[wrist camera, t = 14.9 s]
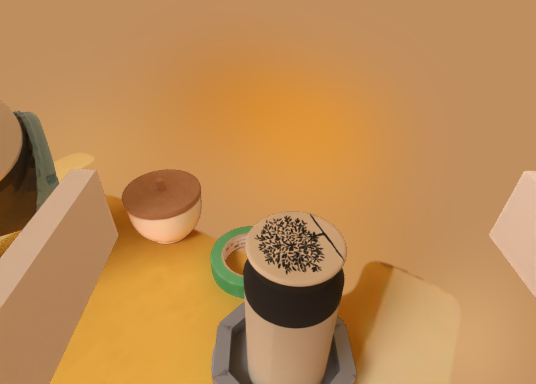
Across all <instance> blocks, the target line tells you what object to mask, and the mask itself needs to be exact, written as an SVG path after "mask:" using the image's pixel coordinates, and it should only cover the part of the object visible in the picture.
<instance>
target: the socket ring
mask: <svg viewBox="0 0 536 384" xmlns="http://www.w3.org/2000/svg"><path fill="white" fill-rule="evenodd" d="M343 323H344V321H343V320H341V319H340V318H339V317H337V319H336V323H335V328H334V333H333V337H332V342H331V347H330V351H329V356H328V360H327V365H326V370H325V374H324V379H323V382H322V384H354V382H355V379H356V375H357V374H356V369H355V364H354V360H353V355H352V351H351V346H350V341H349V337H348V332H347V327H346V324H343ZM212 378H213V383H214V384H252V382H251V380H250V377H249V373H248V359H247V339H246V319H245V302H244V303H242V304H241V305H240V306H239V307H238V308H236V309H235V310H234V311H233V312H232V313H230V314H229V315H228V316H227V317H226V318H224V319H223V320H222V321H221V322H220V325H218V329H217V338H216V345H215V348H214V352H213V357H212Z"/></svg>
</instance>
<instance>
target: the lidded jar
mask: <svg viewBox="0 0 536 384" xmlns="http://www.w3.org/2000/svg"><path fill="white" fill-rule="evenodd" d="M122 201H123V204H124V207H125V209H126V211H127V214H128V217H129V219H130V221H131V223H132V225H133V226H134V228H135V229H136V230H137V231H138V232H139V233H140V234H141V235H142V236H144V237H145V238H147V239H149V240H151V241H155V242H157V243H160V244H172V243H176V242H179V241H181V240H182V239H184V238H185V237H186V236H187V235H188V234H189V233H190V232H191V231H192V230H193V229H194V228H195V226H196V225H197V223H198V220H199V218H200V214H201V186H200V183H199V181H198V179H197V178H196V177H195V176H193V175H191V174H190V173H188V172H185V171H181V170H168V169H167V170H159V171H154V172H150V173H147V174H144V175H142V176H140V177H138V178H136V179H135V180H133V181H132V182H131V183H130V184H128V186H127V187H126V188H125V190H124V192H123V195H122Z"/></svg>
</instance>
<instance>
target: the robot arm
mask: <svg viewBox="0 0 536 384" xmlns="http://www.w3.org/2000/svg"><path fill="white" fill-rule="evenodd" d="M20 230H22V231H21V232H20V234H19V235H18V236H17V237H16V239H15V240H14V241H13V242H12V244H11V245H10V246H9V247H8V249H7V250H6V251H5V252H4V254H3V255H2V256H1V257H0V384H50V382H51V380H52V377H53V375H54V373H55V371H56V369H57V367H58V365H59V362H60V360H61V358H62V356H63V354H64V352H65V350H66V347H67V345H68V343H69V341H70V339H71V337H72V335H73V332H74V330H75V328H76V326H77V324H78V322H79V320H80V317H81V315H82V313H83V311H84V309H85V307H86V305H87V302H88V300H89V298H90V296H91V294H92V292H93V290H94V287H95V285H96V283H97V281H98V279H99V277H100V275H101V273H102V270H103V268H104V266H105V264H106V262H107V260H108V258H109V255H110V253H111V251H112V249H113V247H114V245H115V243H116V240H117V238H118V236H119V235H118V232H117V229H116V226H115V223H114V220H113V217H112V214H111V211H110V208H109V205H108V203H107V200H106V197H105V194H104V191H103V188H102V185H101V182H100V180H99V176H98V173H97V170H70V171H69V172H68V173H67V175H66V176H65V177H64V178H63V180H62V181H61V182H60V183H59V181H58V178H57V176H56V171H55V168H54V163H53V160H52V156H51V153H50V150H49V147H48V143H47V141H46V137H45V134H44V132H43V129H42V126H41V123H40V121H39V119H38V117H37V116H36V115H35V114H33V113H31V112H20V111H17V112H16V111H15V112H12V111H11V110H10V108H9V107H8V106H7V105H5V104H4V103H3V102H2V101H0V236H3V235H7V234H10V233H13V232H17V231H20ZM489 236H490V237H491V239H492V240H493V241H494V243H495V244H496V246H497V247H498V248H499V250H500V251H501V252H502V254H503V255H504V256H505V258H506V259H507V260H508V262H509V263H510V264H511V266H512V267H513V268H514V270H515V271H516V272H517V274H518V275H519V276H520V278H521V279H522V280H523V282H524V283H525V284H526V286H527V287H528V288H529V290H530V291H531V292H532V294H533V295H534V296H535V298H536V171H524V173H523V175H522V176H521V178H520V180H519V182H518V184H517V185H516V187H515V189H514V191H513V193H512V195H511V196H510V198H509V200H508V202H507V203H506V205H505V207H504V209H503V211H502V213H501V214H500V216H499V218H498V220H497V222H496V223H495V225H494V227H493V229H492V230H491V232H490V234H489Z"/></svg>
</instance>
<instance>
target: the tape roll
mask: <svg viewBox="0 0 536 384" xmlns="http://www.w3.org/2000/svg"><path fill="white" fill-rule="evenodd" d="M252 227H253V226H249V227H241V228H237V229H234V230H232V231H230V232H228V233H226V234H224V235H223V236H222V237H221V238H219V239H218V241H217V242H216V243H215V245H214V246H213V249H212V252H211V266H212V273H213V277H214V279H215V281H216V283H217V284H218V286H219V287H220V288H221V289H223V290H224V291H225V292H227V293H229V294H231V295H233V296H236V297H240V298H244V279H243V275H241V274H238V273H235V272H234V271H232V270H231V269H230V267H228V266H227V264H226V263H225V261H226V259H227V257H228V256H229V255H230V254H231V253H232V252H233V251H234V250H238V249H240V248H244V247H245V242H246V238H247V235H248V233H249V231H250V230H251V229H252Z"/></svg>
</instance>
